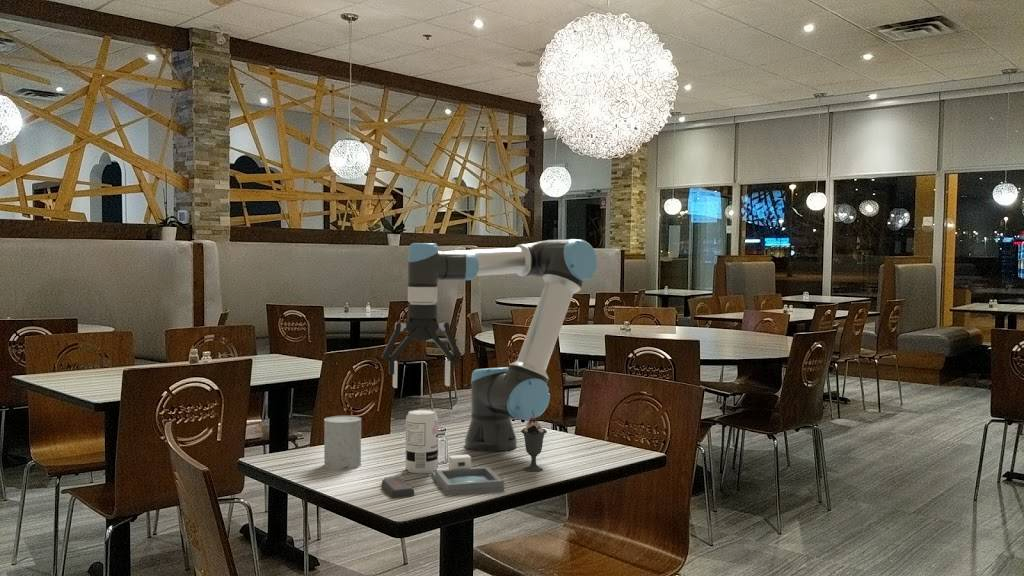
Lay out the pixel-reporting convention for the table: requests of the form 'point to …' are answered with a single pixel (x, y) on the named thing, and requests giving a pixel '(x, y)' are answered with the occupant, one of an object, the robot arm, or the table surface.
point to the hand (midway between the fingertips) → (421, 386)
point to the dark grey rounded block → (396, 487)
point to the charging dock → (467, 477)
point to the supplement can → (421, 441)
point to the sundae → (533, 442)
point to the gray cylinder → (342, 442)
